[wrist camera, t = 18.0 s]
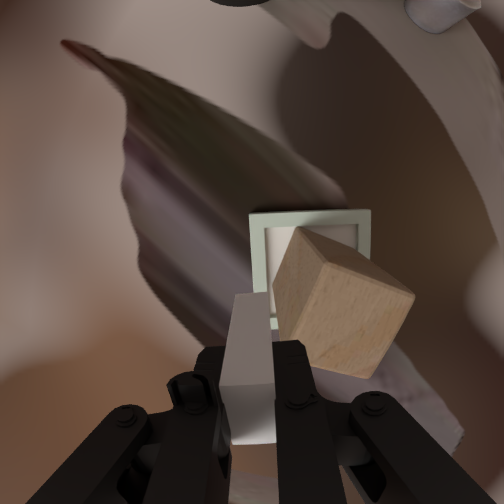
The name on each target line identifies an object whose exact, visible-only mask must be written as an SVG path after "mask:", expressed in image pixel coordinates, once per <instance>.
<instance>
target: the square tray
mask: <svg viewBox="0 0 504 504" xmlns="http://www.w3.org/2000/svg"><path fill="white" fill-rule="evenodd" d="M249 223H250V239H251V256H252V273H253V290H254V293H257V292H268V301H269V312H270V324H271V329H278V322H277V315H276V308H275V301H274V295H273V288H272V283H273V281H274V279H275V276H276V274H277V271H278V269H279V266H280V264H281V262H282V259H283V257H284V254H285V252H286V249H287V247H288V244H289V242H290V239H291V237H292V234H293V232H294V229H295V228H296V227H297V226H299V227H302V228H305V229H307V230H310V231H312V232H315V233H317V234H320V235H322V236H325V237H327V238H330V239H332V240H335V241H337V242H340V243H342V244H345V245H347V246H349V247H352V248H354V249H355V250H357V251H358V252H359V253H361V254H362V255H364V256H365V257H366V258H368V259H369V260H370V246H371V210H369V209H332V210H302V211H279V212H259V213H249Z"/></svg>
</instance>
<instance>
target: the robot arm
mask: <svg viewBox="0 0 504 504" xmlns="http://www.w3.org/2000/svg"><path fill="white" fill-rule="evenodd" d="M211 1H213V2H215V3H218V4H221V5H226V6H233V7H243V6H251V5H257V4H260V3H263V2H266V1H268V0H211ZM167 388H168V391H169V394H170V397H171V400H172V403H173V405H174V406H173V409H171V410H169V411H165V412H161V413H154V414H147V413H146V411H145V410H144V409H143V408H142V407H140V406H138V405H132V404H129V405H122V406H120V407H117V408H115V409H114V410H113V411H111V412H110V413H109V414H108V415H107V416H106V417H105V418H104V419H103V420H102V421H101V423H100V424H99V425H98V426H97V427H96V428H95V429H94V430H93V431H92V433H90V434H89V436H88V437H87V438H86V439H85V440H84V441H83V442H82V443H81V444H80V445H79V447H77V449H76V450H75V451H74V452H73V453H72V454H71V455H70V456H69V458H67V459H66V460H65V462H64V463H63V464H62V465H61V466H60V467H59V468H58V469H57V470H56V471H55V472H54V473H53V474H52V476H51V477H50V478H49V479H48V480H47V481H46V482H45V483H44V484H43V485H42V486H41V487H40V489H39V490H38V491H37V492H36V493H35V494H34V495H33V496H32V497H31V498H30V499H29V500H28V502H27V503H26V504H228V498H229V486H230V475H231V463H232V455H231V451H230V440H232V444H234V445H236V444H238V445H239V444H265V443H276V444H277V465H278V487H279V504H347V502H346V497H345V492H344V487H343V483H342V479H341V474H340V470H339V465H342V466H343V468H344V470H345V472H346V473H347V475H348V476H349V478H350V480H351V481H352V483H353V485H354V486H355V488H356V489H357V491H358V493H359V494H360V496H361V497H362V499H363V500H364V502H365V504H496V503H495V501H494V500H493V499H492V498H491V497H490V496H488V494H487V493H486V492H485V491H484V490H483V489H482V488H481V487H480V486H479V485H478V484H477V483H476V482H475V481H474V480H473V479H472V478H471V477H470V476H469V475H468V474H467V473H466V472H465V471H464V470H463V469H462V467H460V466H459V464H458V463H457V462H456V461H455V460H454V459H453V458H452V457H451V456H450V455H449V454H448V453H447V452H446V451H445V450H444V449H443V448H442V447H441V446H440V445H439V444H438V443H437V442H436V441H435V440H434V439H433V438H432V437H431V436H430V434H429V433H428V432H427V431H426V430H425V429H424V428H423V427H422V426H421V425H420V424H419V423H418V422H417V421H416V420H415V419H414V418H413V417H412V416H411V415H410V414H409V413H408V412H407V411H406V410H405V409H404V408H403V407H402V406H401V405H400V404H399V403H398V402H397V401H396V399H395V398H393V397H392V396H390V395H389V394H387V393H384V392H380V391H369V392H365V393H362V394H360V395H358V396H357V397H355V399H354V400H353V401H352V402H351V403H339V402H333V401H330V400H327V399H325V398H323V397H322V396H321V395H320V394H319V393H318V392H317V390H316V387H315V383H314V379H313V375H312V371H311V367H310V363H309V359H308V356H307V351H306V347H305V345H303V344H302V343H301V342H300V341H299V340H298V339H297V340H288V341H277V342H272V336H271V324H270V312H269V301H268V292H257V293H245V294H236V295H235V300H234V306H233V311H232V317H231V322H230V327H229V333H228V338H227V344H226V346H215V347H205V348H204V349H203V350H202V351H201V352H200V353H199V355H198V357H197V361H196V364H195V367H194V371H190V372H184V373H181V374H179V375H176V376H175V377H173V378H172V379H170V381H169V382H168V384H167Z"/></svg>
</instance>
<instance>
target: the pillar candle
mask: <svg viewBox="0 0 504 504" xmlns="http://www.w3.org/2000/svg"><path fill="white" fill-rule="evenodd" d="M404 7H405V10H406V12H407V14H408V15H409V17H410V18H411V19H412V21H413V22H414V23H415V24H416V25H418V26H419V27H420V28H422V29H423V30H425V31H427V32H430V33H434V34H440V33H442V32H444V31H445V30H447V29H448V28H450V27H451V26H453V25H454V24H456V23H457V22H459V21H460V20H462V19H463V18H465V17H466V16H467V15H469V14H471V13H472V12H473V11H475V10H477V9H479V8H481V0H405V2H404Z"/></svg>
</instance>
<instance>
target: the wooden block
mask: <svg viewBox="0 0 504 504" xmlns="http://www.w3.org/2000/svg"><path fill="white" fill-rule="evenodd" d="M272 288H273V295H274V301H275V308H276V315H277V322H278V329H279V336H280V341H288V340H297V339H298V340H299V341H300V342H301V343H302V344H303V345H305V347H306V351H307V356H308V359H309V363H310V366H314V367H318V368H322V369H326V370H330V371H334V372H338V373H342V374H347V375H351V376H356V377H360V378H365V379H368V378H370V377H371V375H372V374H373V372H374V371H375V369H376V368H377V366H378V364H379V363H380V361H381V360H382V358H383V356H384V355H385V353H386V351H387V350H388V348H389V346H390V345H391V343H392V341H393V339H394V338H395V336H396V334H397V332H398V330H399V329H400V327H401V325H402V323H403V321H404V319H405V318H406V316H407V314H408V312H409V310H410V308H411V306H412V304H413V301H414V300H415V295H414V293H413V292H412V291H410V290H409V289H408V288H407V287H405V286H404V285H403V284H401V283H400V282H399V281H397V280H396V279H395V278H393V277H392V276H391V275H389V274H388V273H387V272H385V271H384V270H383V269H381V268H380V267H379V266H377V265H376V264H374V263H373V262H372V261H370V260H369V259H368V258H366V257H365V256H364V255H362V254H361V253H359V252H358V251H357V250H355V249H354V248H352V247H349V246H347V245H345V244H342V243H340V242H337V241H335V240H332V239H330V238H327V237H325V236H322V235H320V234H317V233H315V232H312V231H310V230H307V229H305V228H302V227H299V226H297V227H296V228H295V229H294V232H293V234H292V237H291V239H290V242H289V244H288V247H287V249H286V252H285V254H284V257H283V259H282V262H281V264H280V266H279V269H278V271H277V274H276V276H275V279H274V281H273V283H272Z"/></svg>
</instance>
